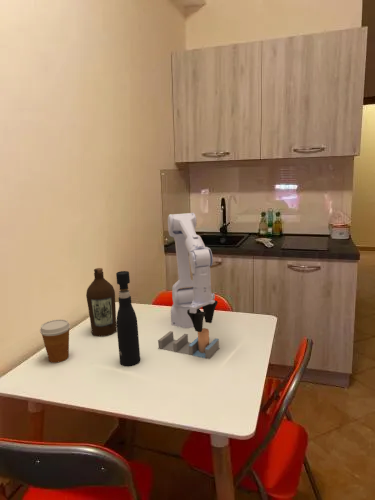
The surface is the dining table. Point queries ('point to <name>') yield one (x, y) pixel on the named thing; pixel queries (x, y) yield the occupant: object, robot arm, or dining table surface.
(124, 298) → the wine bottle
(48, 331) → the disposable coffee cup
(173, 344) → the grey slotted rack
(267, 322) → the dining table surface
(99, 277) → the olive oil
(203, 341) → the tan rounded cylinder
